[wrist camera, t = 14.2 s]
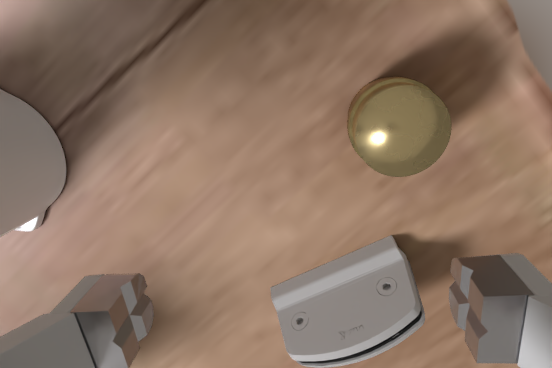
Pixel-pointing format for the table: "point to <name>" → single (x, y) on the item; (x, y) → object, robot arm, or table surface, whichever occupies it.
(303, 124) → the table surface
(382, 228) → the table surface
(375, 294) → the grey bevelled device
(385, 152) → the cylinder
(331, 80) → the table surface
